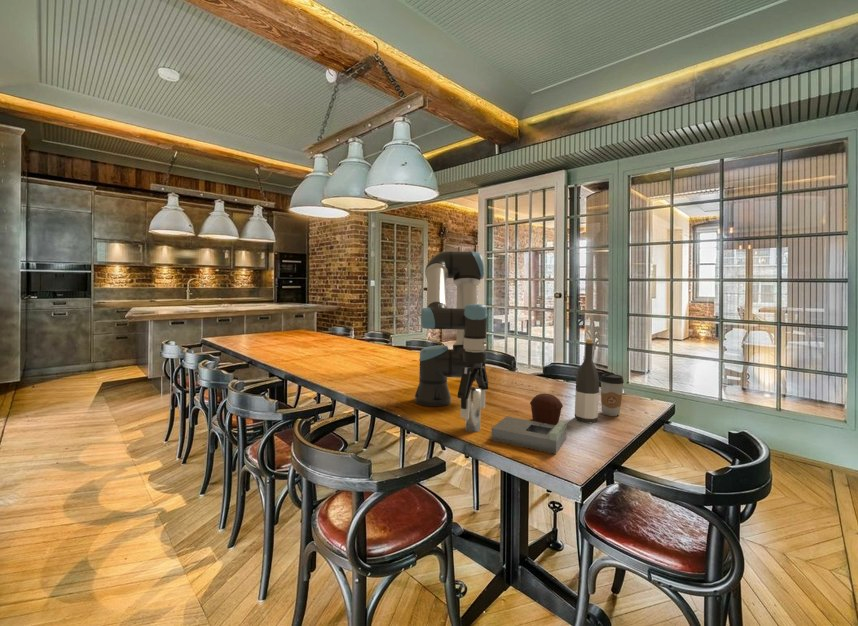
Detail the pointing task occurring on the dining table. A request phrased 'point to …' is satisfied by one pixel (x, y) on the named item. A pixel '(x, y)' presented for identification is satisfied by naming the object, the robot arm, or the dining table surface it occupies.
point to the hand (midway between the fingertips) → (473, 412)
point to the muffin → (546, 409)
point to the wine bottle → (587, 388)
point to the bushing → (474, 410)
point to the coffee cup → (611, 393)
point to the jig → (530, 434)
